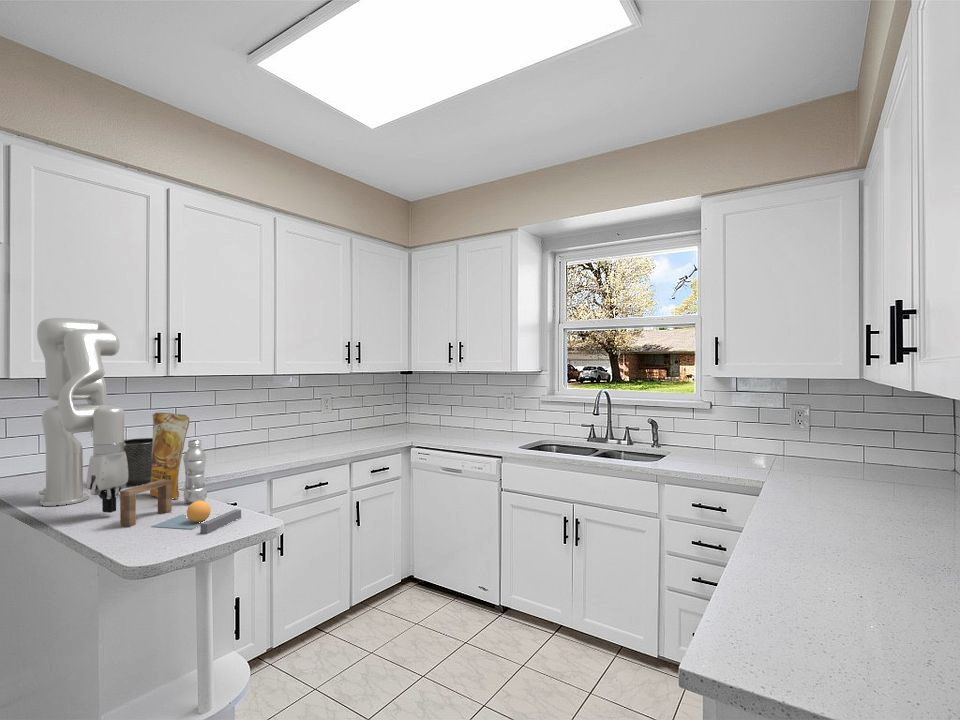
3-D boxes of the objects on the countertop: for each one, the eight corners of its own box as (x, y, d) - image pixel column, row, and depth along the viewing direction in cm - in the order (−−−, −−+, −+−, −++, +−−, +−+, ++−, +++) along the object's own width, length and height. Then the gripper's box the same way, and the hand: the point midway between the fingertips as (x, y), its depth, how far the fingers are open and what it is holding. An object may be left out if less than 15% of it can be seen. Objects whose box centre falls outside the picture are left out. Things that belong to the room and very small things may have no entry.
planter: (137, 490, 188) (137, 445, 188) (96, 488, 191) (95, 444, 191) (173, 479, 205) (173, 438, 205) (135, 478, 208) (134, 437, 208)
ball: (200, 525, 145) (181, 525, 146) (215, 519, 151) (197, 519, 152) (199, 503, 145) (181, 503, 147) (214, 498, 151) (196, 498, 152)
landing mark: (151, 527, 145) (151, 526, 145) (186, 513, 158) (186, 512, 158) (192, 529, 142) (192, 528, 142) (224, 515, 155) (224, 515, 155)
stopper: (200, 533, 139) (200, 523, 139) (235, 517, 153) (235, 509, 153) (207, 533, 139) (207, 524, 139) (241, 518, 152) (241, 509, 152)
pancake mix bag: (163, 490, 187) (162, 411, 187) (192, 497, 177) (191, 414, 177) (142, 494, 182) (142, 413, 182) (171, 502, 171) (170, 415, 171)
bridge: (120, 526, 146) (120, 491, 146) (163, 511, 160) (162, 479, 160) (129, 526, 145) (129, 491, 145) (171, 511, 160) (171, 479, 160)
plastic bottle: (211, 500, 172) (211, 439, 172) (194, 506, 166) (193, 442, 166) (196, 499, 174) (195, 438, 174) (178, 504, 168) (178, 441, 168)
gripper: (120, 445, 163) (120, 504, 163) (74, 453, 149) (74, 518, 149) (140, 445, 162) (141, 505, 162) (96, 453, 147) (96, 519, 147)
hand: (109, 511), depth 155 cm, fingers closed
